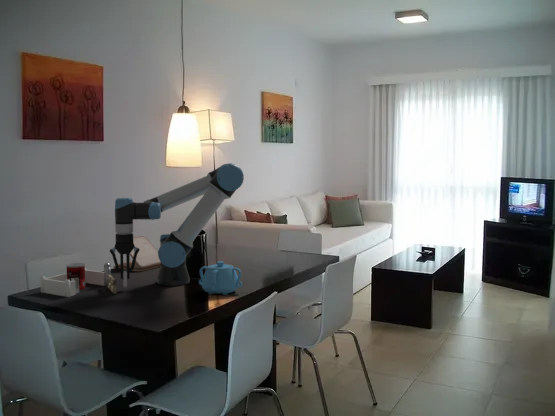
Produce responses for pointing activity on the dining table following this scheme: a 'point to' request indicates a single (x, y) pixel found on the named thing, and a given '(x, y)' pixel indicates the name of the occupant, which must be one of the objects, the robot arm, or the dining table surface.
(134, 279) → the dining table surface
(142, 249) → the case
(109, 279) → the gate
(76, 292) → the latch stile
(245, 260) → the dining table surface
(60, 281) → the pen fence
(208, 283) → the decorative pot
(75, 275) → the canned food
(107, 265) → the hinge post
